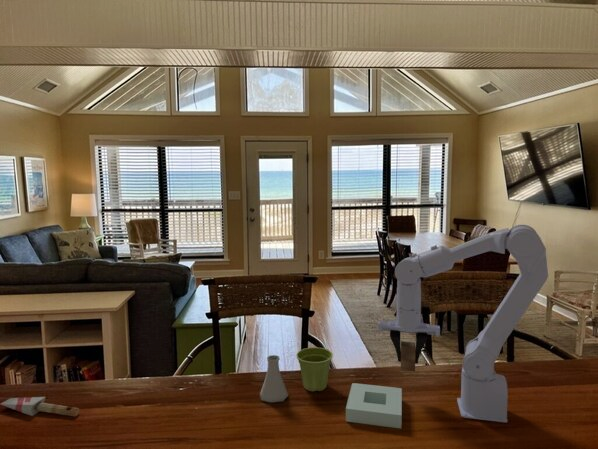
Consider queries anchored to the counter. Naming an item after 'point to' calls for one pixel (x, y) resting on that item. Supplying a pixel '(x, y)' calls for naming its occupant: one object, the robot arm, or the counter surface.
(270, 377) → the flask
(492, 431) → the counter surface
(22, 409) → the grey and wooden tool
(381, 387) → the socket block
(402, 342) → the walnut peg
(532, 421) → the counter surface
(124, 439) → the counter surface
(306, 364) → the plant pot
